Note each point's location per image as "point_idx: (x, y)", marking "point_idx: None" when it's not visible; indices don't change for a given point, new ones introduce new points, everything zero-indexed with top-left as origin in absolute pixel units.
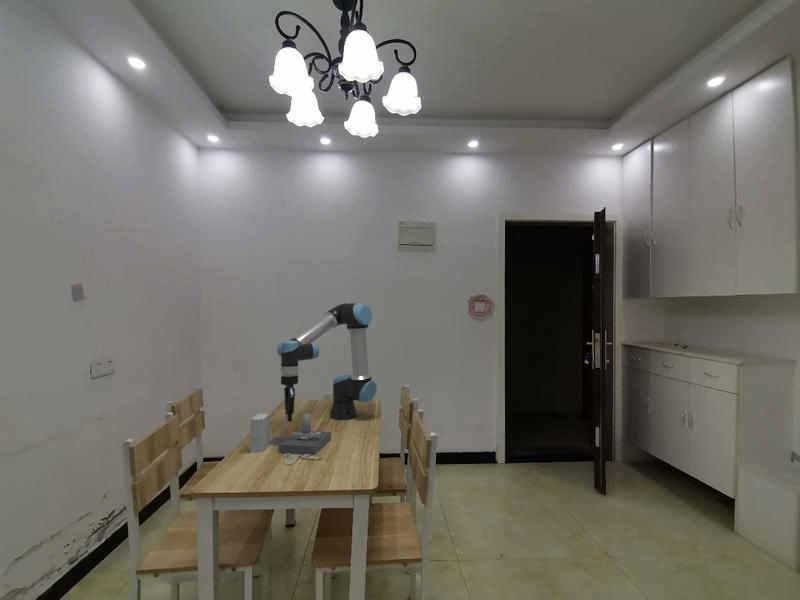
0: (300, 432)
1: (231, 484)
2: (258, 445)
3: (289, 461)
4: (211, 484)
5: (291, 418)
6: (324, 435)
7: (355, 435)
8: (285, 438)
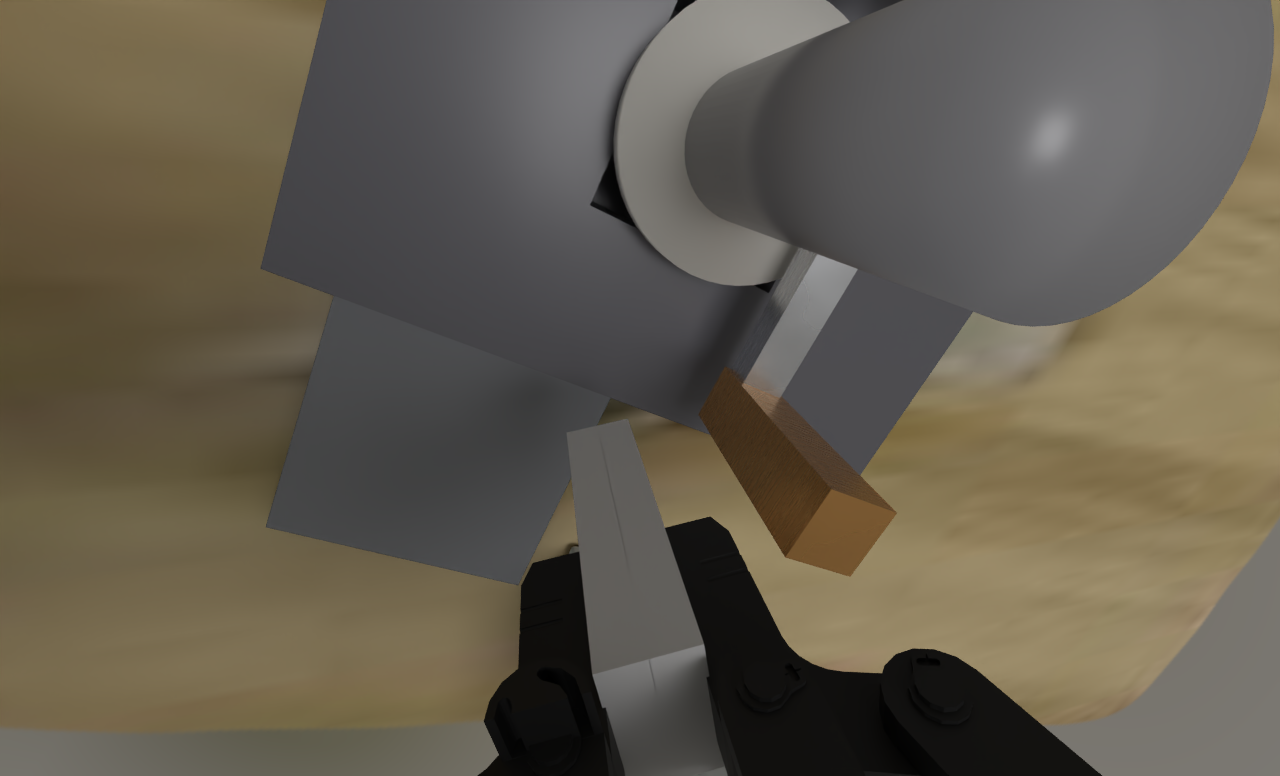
0: (815, 265)
1: (1145, 618)
2: None
3: (1019, 334)
4: (1083, 695)
5: (738, 558)
6: None
7: None
8: (346, 418)
